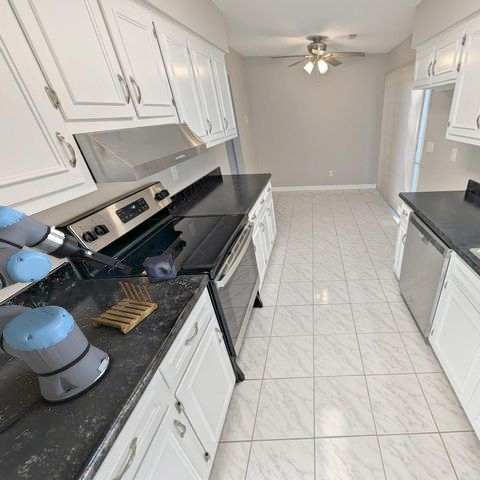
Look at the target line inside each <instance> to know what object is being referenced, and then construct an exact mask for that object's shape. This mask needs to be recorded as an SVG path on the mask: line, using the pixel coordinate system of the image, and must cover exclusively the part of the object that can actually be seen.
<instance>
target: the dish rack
mask: <svg viewBox="0 0 480 480" xmlns="http://www.w3.org/2000/svg"><path fill="white" fill-rule="evenodd" d="M118 284H119V287H120V288H121V290H122V292H123V294H124V295H125V297H124V298H122V299H121V301H119V302H117V303H116V305H113V306H111V308H110V309H107V310H106V311H105V312H104V313H102V314H100V315H99V317H96V318H95V317H90V318H89V320H90V321H91V322H92V325H93V326H94V327H95V328H98V327H100V326H102V325H104V326H108V327H112V328H117V329H120V331H121V333H122V335H123V334H124V335H126V334H127V333H128V332H130V331H131V330H132V329H134V327H136V326H137V325H138V324H139V323H141V322H142V321H143V320H144V319H146V317H148V316H149V315H150V314H151V313H152V312H154V311H155V310H156V309H157V308H158V305H157V303H156V302H153V300H152V298H151V296H150V294H149V291H148V290H147V287H146V286H145V285H142V289H143V291H144V293H145V295H144V293H143V291H142V289H141V286H140V285H139V284H136V287H135V285H134V284H133V283H130V286H129V284H128V282H124V284H123V282H122V281H118ZM125 287H126V289H125ZM130 287H131V288H130ZM136 288H137V290H138V291H137V290H136ZM131 289H132V290H131ZM132 291H133V292H132ZM138 292H139V294H140V295H139V294H138ZM128 293H129V294H128ZM133 293H134V294H133ZM129 295H130V296H129ZM134 295H135V296H134ZM140 296H141V297H140ZM145 296H146V297H145ZM130 297H131V298H130ZM135 297H136V298H135ZM141 298H142V300H141ZM147 299H148V301H149V302H148V301H147Z"/></svg>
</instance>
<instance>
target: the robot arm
mask: <svg viewBox="0 0 480 480" xmlns="http://www.w3.org/2000/svg"><path fill="white" fill-rule="evenodd" d="M24 247H27V248H29V249H27V248H25V249H24ZM47 255H48V256H47ZM49 256H50V257H53V258H55V259H59V260H64V259H66V258H68V259H69V260H71V261H73V262H75V263H78V262H79V263H80V264H83V265H85V266H88V267H91V268H93V269H96V270H97V271H103V270H104V269H105V266H106V267H110V268H111V270H112V271H114V270H115V271H118V272H119V273H122V274H125V275H127V276H129V275H130V273H131V271H132V270H133V267H131V266H129V265H127V264H125V263H123V262H121V260H119V259H117V258H114V257H111V256H109V255H106V254H103V253H100V252H97V251H95V250H92V249H91V248H86V247H85V246H79V240H78V239H77V238H76V237H74V236H72V235H70V234H67V233H64V232H63V231H61V230H59V229H56V226H55V225H51V226H50V225H48V224H46V223H44V222H42V221H39V220H37V219H35V218H33V217H32V216H29V215H27V214H26V213H25V212H21V211H19V210H17V209H14V208H12V207H9V206H7V205H0V291H1V290H3V289H6V288H8V287H12V286H14V285H16V284H18V283H20V284H27V283H35V282H38V281H42V280H43V279H44V278H46V277H47V276H48V275H49V273H51V270H52V261H51V259H50V258H49ZM2 354H6V355H8V356H11V357H15V358H18V359H21V360H22V361H23V362H24V363H26V365H27V366H28V367H29V368H30V369H31V370H32V371H33V372H34V373H35V375H36V376H37V377H38V384H39V389H40V390H39V391H40V394H41V396H40V397H39V398H37V399H36V400H35V401H33V402H32V403H30V404H29V405H28V406H26V408H24V409H23V410H22V411H20V412H19V413H18V414H17V415H16V416H14V417H12V419H11V420H10V421H8V422H7V423H5V424H4V425H3V426H1V427H0V433H2V432H3V431H4V430H6V429H7V428H9V427H10V426H11V425H12V424H14V423H15V422H16V421H17V420H18V419H20V418H21V417H22V416H23V415H24V414H26V413H27V412H28V411H29V410H30V409H32V408H33V407H35V406H36V405H37V404H39V402H41V401H42V400H43V399H44V400H45V401H46V402H48V403H51V404H60V403H64V402H67V401H70V400H73V399H75V398H77V397H80V396H81V395H82V394H84V393H86V392H88V391H89V390H90V389H92V388H93V387H94V386H96V385H97V384H98V383H99V382H100V381H101V380H102V379H103V378H104V377H105V375H106V374H107V373H108V371H109V369H110V367H111V358H110V356H109V355H108V353H107V352H105V351H104V350H102V349H100V348H98V347H96V346H94V345H93V344H91V343H90V341H89V340H88V339H87V337H86V335H85V334H84V333H83V331H82V329H80V327H79V325H78V324H77V323H76V321H75V320H74V318H73V316H72V314H71V313H69V312H68V311H67V309H65V308H64V307H61V306H58V305H45V306H43V307H36V308H31V307H29V306H24V305H17V304H16V305H13V304H12V305H2V306H0V355H2Z"/></svg>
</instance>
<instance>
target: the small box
mask: <svg viewBox="0 0 480 480" xmlns="http://www.w3.org/2000/svg"><path fill="white" fill-rule="evenodd" d="M142 268H143V269H144V272H145V274H146V276H147V278H148V280H149V282H150V284H154V283H159V282H165V281H171V280H175V279H176V277H177V276H178V272H179V271H178V269H177V266H176V264H175V261H174V259H173V256H172V253H167V254H160V255H155V256H149V257H146V258H145V260H144V261H143V263H142Z"/></svg>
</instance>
